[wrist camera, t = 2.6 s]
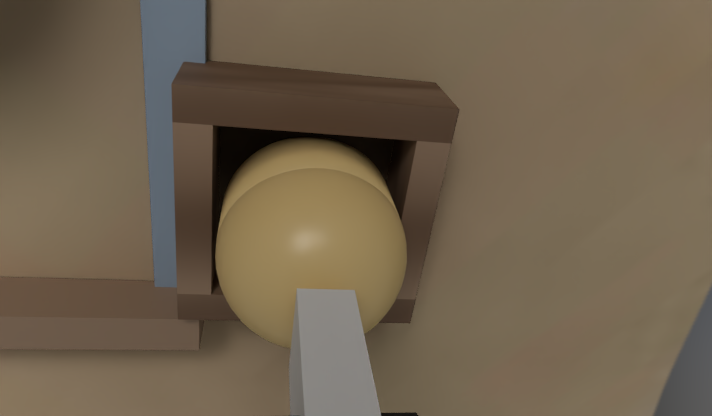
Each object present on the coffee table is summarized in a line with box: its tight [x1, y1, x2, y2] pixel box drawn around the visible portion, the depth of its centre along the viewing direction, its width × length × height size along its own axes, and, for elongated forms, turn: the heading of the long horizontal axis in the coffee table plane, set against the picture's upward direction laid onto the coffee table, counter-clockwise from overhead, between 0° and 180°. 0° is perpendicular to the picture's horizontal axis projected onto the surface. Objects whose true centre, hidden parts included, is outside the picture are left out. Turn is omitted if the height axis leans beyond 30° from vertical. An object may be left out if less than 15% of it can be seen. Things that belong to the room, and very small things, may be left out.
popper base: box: [171, 61, 459, 323], centre depth 20 cm, size 9×9×3 cm
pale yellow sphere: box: [215, 136, 407, 349], centre depth 17 cm, size 6×6×6 cm
